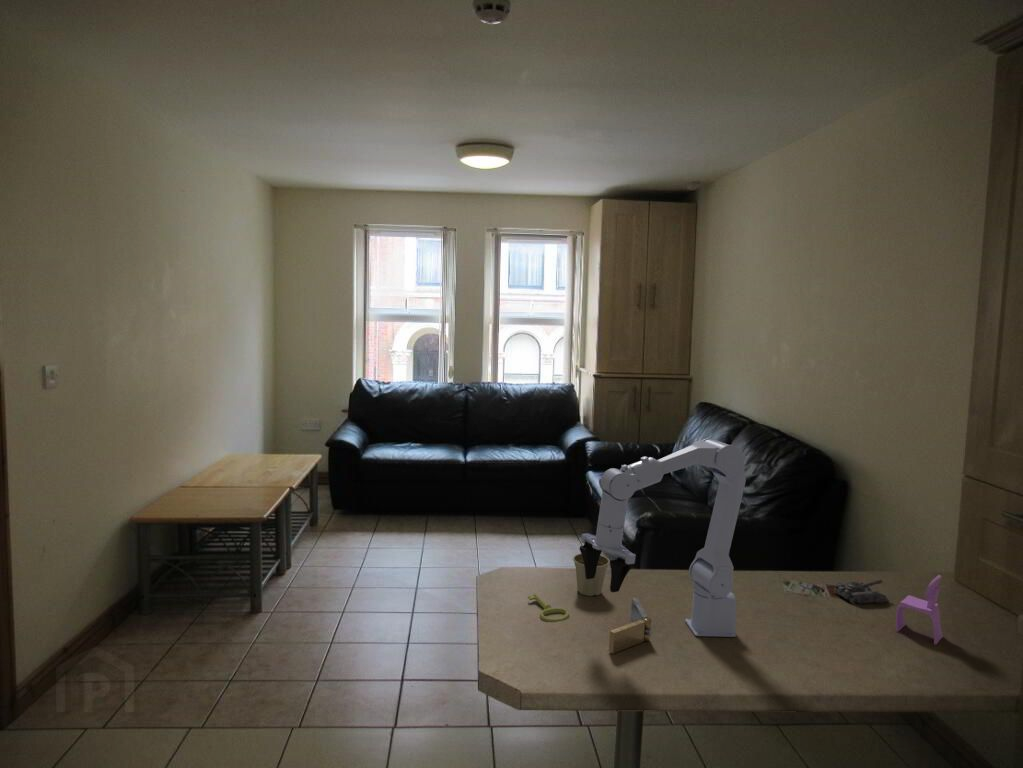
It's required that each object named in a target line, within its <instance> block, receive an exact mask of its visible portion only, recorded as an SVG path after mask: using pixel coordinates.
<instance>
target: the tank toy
mask: <svg viewBox="0 0 1023 768" xmlns="http://www.w3.org/2000/svg"><path fill="white" fill-rule="evenodd" d="M882 583H883V580H882V579H876V580H873V581H870V582H866V583H864V582H858V581H857V582H856V581H849V582H838V583H836V584H835V587H834V589H833V593H834V594H835V595H838V596H840V597H843V599H845V600H847V601H849V603H851V605H853V606H855V605H857V606H858V605H875V604H876V605H877V604H889V603H890V600H889V598H888V597H887V596H886V594H884V593H881V592H879V591H876V590H872V589H871V587H872V586H874V585H880V584H882Z"/></svg>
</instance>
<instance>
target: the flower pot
mask: <svg viewBox="0 0 1023 768" xmlns="http://www.w3.org/2000/svg"><path fill="white" fill-rule="evenodd" d="M572 561H573V562H574V566H575V573H576V574H575V575H576V587H577V590H576V591H577V592H578V593H580V594H581V595H584V596H586V597H593V596H600V595H601V594H602V592H603V591H602V590H603V586H604V581H605V576H606V571H607V569H608V566H609V565H610V559H609V558H608V557H606V556H604V555H601V554H600V557H599V560H598V564H597V569H596V574H595V577H594V578H593V579H586V575H585V566H584V561H583V557H582V554H581V553H578V554H575V555H574V556H573V557H572Z"/></svg>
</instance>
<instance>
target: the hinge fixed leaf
mask: <svg viewBox="0 0 1023 768" xmlns="http://www.w3.org/2000/svg"><path fill="white" fill-rule="evenodd" d="M630 607H631V608H630V609H631V610H630V618H631V621H632V623H633V622H636V621H639V620H642V618H644V617H647V618H649V617H648V615H647V613H646V611H645V609H644V607H643V606H642V604H641V602H640V600H639V599H638V598H637V597H632V598H631V606H630ZM651 629H652V627H651V628H650V629H645V628H644V633H645V634H649V633H650V634H651Z"/></svg>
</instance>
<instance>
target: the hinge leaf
mask: <svg viewBox="0 0 1023 768" xmlns="http://www.w3.org/2000/svg"><path fill="white" fill-rule="evenodd" d="M644 628H645V629H650V628H651V629H652V619H651V618H650V617H648V618H647V617H644V618H642V620H639V621H636V622H633V621H632V622H631V623H627V624H625V625H622V626H619V627H617V628H614V629H611V630H610V631H609V639H608V640H609V643H608V652H610V653H612V654H615V653H618V652H620V651H621V652H622V651H623V650H625V649H628V648H631V647H633V646H635V645H636V646H637V645H638V644H641V643H643V642H649V641H650V640H651V632H650V633H649V634H645V633H644Z"/></svg>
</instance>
